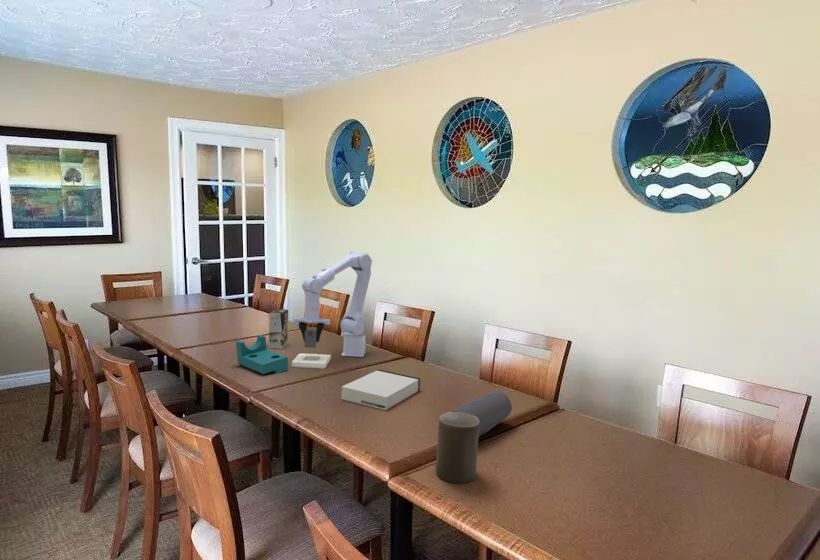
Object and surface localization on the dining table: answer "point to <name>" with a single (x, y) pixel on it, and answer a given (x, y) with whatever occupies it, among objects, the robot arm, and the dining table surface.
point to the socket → (311, 361)
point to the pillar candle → (457, 447)
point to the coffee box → (278, 328)
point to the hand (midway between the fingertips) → (311, 341)
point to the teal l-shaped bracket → (260, 357)
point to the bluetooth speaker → (488, 409)
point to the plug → (311, 337)
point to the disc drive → (380, 389)
